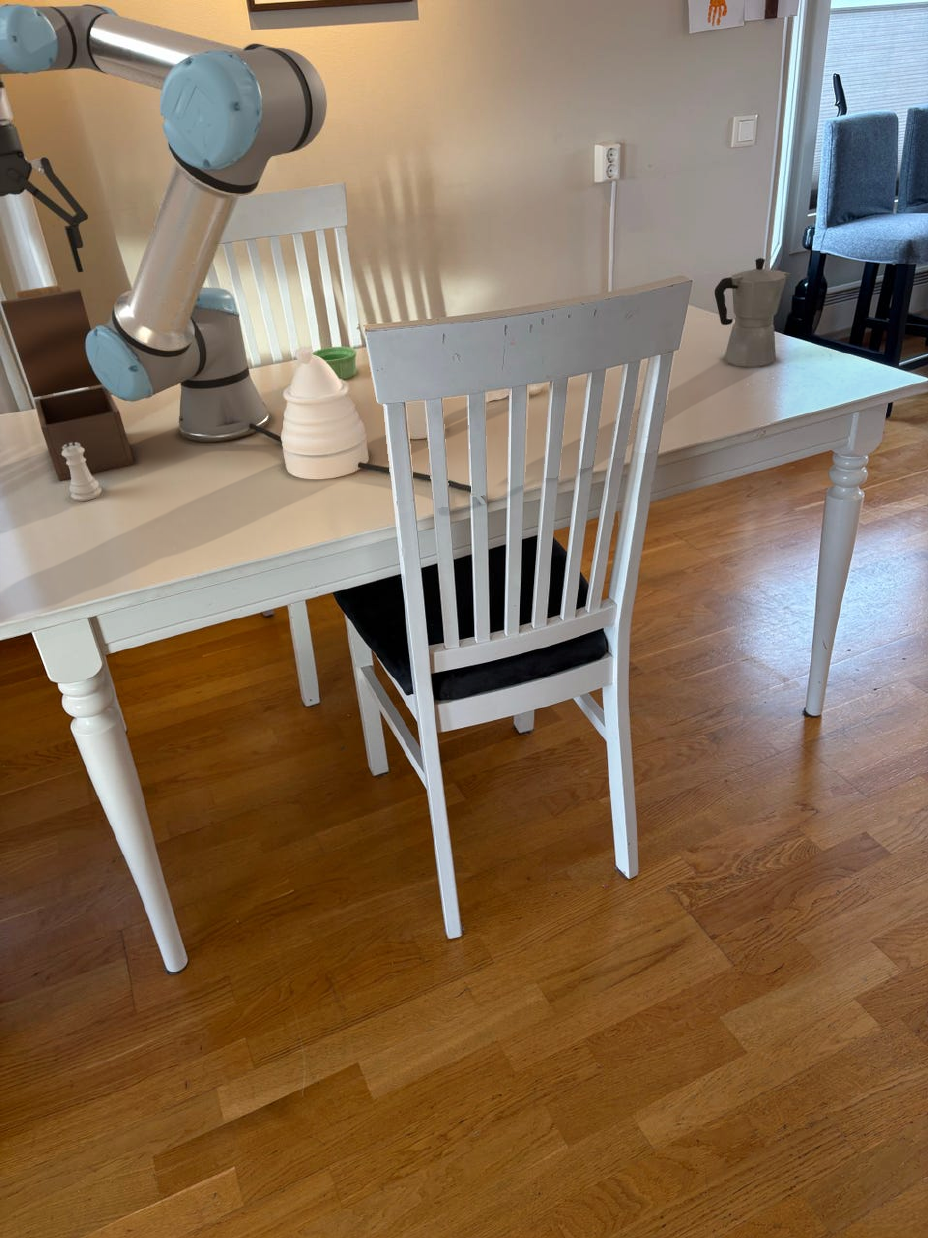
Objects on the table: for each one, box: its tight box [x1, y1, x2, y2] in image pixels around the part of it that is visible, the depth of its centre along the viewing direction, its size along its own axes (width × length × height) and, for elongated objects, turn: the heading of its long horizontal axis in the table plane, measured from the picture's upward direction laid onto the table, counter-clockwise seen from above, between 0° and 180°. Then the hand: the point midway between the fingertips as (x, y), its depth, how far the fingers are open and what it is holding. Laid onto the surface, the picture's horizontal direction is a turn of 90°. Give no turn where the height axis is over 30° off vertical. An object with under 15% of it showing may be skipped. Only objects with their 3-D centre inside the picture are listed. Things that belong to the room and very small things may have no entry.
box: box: [33, 385, 135, 482], centre depth 147 cm, size 16×12×9 cm
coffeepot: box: [714, 257, 791, 368], centre depth 163 cm, size 15×9×18 cm, turn 111°
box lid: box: [0, 284, 103, 399], centre depth 146 cm, size 16×12×6 cm
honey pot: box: [280, 347, 370, 480], centre depth 135 cm, size 13×13×18 cm
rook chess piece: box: [61, 442, 103, 502], centre depth 133 cm, size 4×4×8 cm
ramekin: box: [313, 346, 357, 381], centre depth 176 cm, size 9×9×4 cm
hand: (35, 277), depth 142 cm, fingers open, 13 cm apart
